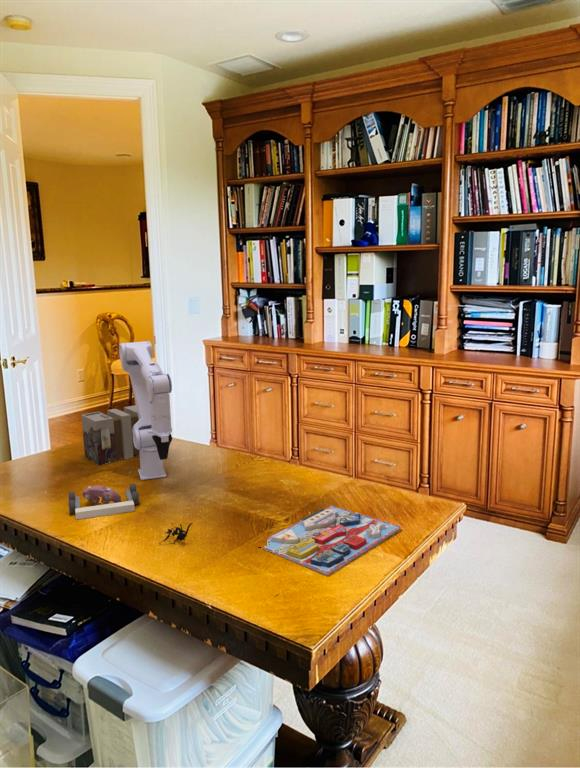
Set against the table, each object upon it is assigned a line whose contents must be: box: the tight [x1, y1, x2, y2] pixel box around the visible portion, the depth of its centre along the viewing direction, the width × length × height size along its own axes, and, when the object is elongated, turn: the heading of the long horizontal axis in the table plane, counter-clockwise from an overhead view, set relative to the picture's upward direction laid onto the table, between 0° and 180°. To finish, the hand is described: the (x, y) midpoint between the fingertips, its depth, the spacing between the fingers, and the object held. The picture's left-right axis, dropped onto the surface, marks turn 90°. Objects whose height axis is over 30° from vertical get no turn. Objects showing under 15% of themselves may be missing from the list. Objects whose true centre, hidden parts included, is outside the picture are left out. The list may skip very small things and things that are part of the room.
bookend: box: [80, 404, 140, 466], centre depth 218 cm, size 16×25×16 cm, turn 130°
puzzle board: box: [262, 505, 402, 577], centre depth 151 cm, size 30×23×3 cm
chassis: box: [68, 483, 140, 521], centre depth 173 cm, size 14×19×4 cm
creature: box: [159, 522, 193, 545], centre depth 151 cm, size 8×5×8 cm
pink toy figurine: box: [81, 485, 122, 505], centre depth 174 cm, size 10×5×7 cm, turn 77°
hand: (163, 458), depth 184 cm, fingers closed
